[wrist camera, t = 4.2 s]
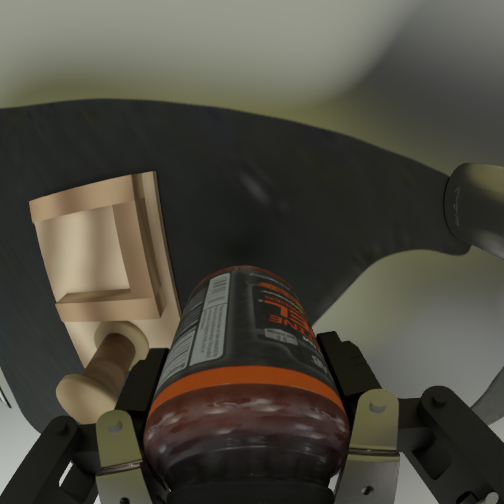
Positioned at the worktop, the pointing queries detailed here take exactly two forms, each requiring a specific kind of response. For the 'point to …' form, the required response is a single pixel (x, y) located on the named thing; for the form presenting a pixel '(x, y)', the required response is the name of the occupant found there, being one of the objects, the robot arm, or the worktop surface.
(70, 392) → the bobbin post
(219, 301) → the supplement bottle
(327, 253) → the worktop surface
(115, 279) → the notched board
